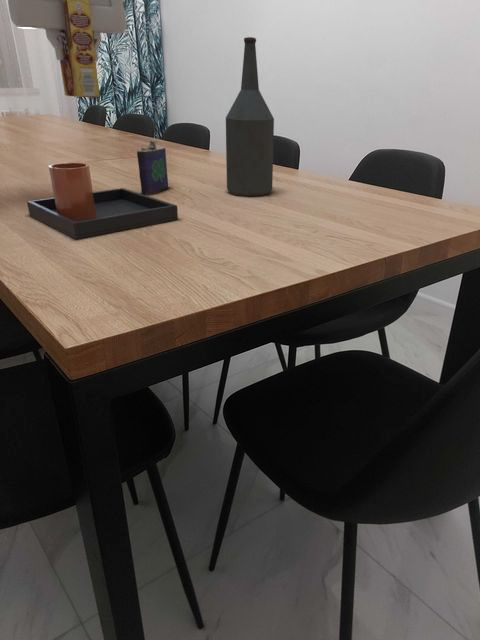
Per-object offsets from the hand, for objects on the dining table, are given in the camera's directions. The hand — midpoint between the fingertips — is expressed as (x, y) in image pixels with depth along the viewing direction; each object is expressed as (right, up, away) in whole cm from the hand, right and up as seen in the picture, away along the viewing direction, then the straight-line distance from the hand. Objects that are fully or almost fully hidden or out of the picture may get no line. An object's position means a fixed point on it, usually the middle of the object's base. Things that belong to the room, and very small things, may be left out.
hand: (77, 60), depth 92 cm
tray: (+5, -29, +1) cm, 29 cm away
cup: (+1, -30, -3) cm, 30 cm away
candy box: (0, -5, +3) cm, 6 cm away
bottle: (+31, -17, +22) cm, 42 cm away
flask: (+10, -17, +21) cm, 29 cm away
